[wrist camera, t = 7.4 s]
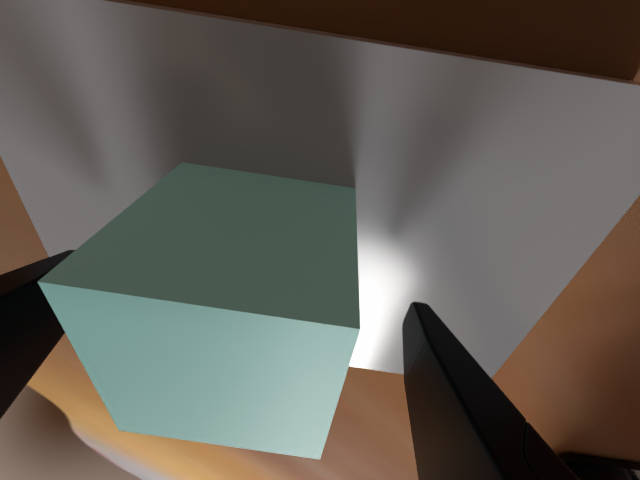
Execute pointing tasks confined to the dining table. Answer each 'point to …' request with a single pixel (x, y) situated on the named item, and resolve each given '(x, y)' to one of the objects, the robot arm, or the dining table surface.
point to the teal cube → (219, 309)
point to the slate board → (329, 150)
